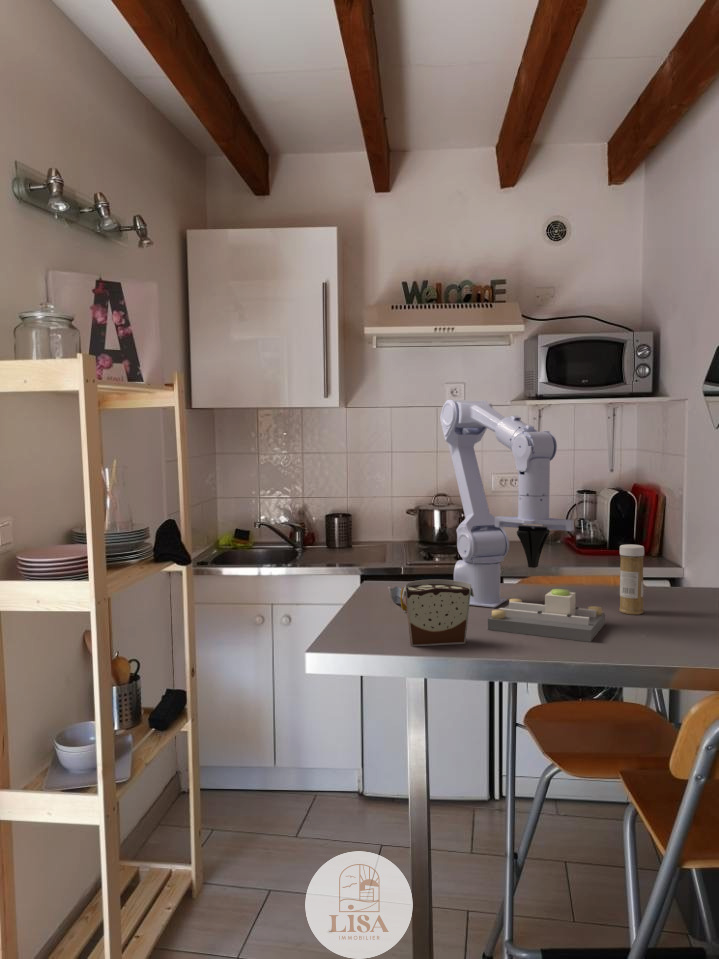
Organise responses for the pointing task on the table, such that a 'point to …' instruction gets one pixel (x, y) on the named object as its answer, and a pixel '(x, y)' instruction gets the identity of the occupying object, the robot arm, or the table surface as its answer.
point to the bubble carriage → (560, 602)
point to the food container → (437, 611)
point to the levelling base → (547, 621)
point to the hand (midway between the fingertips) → (533, 566)
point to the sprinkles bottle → (631, 579)
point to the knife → (398, 596)
